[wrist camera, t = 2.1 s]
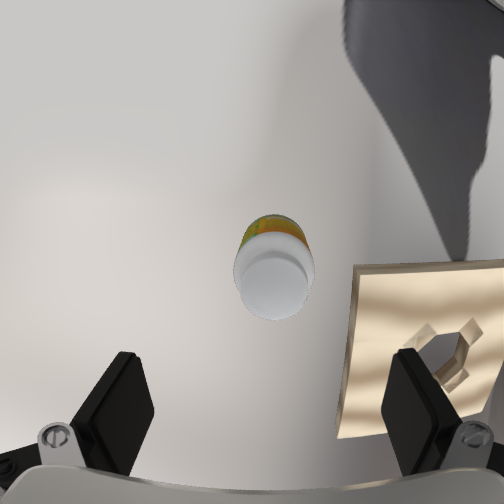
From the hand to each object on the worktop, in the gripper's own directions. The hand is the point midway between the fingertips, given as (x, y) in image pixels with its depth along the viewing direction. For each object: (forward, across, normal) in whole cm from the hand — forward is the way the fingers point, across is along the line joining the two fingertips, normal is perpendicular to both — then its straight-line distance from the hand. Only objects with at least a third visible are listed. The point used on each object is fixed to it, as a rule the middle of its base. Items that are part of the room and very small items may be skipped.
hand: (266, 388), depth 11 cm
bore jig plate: (+18, -17, +12) cm, 27 cm away
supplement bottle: (+18, 0, 0) cm, 18 cm away
